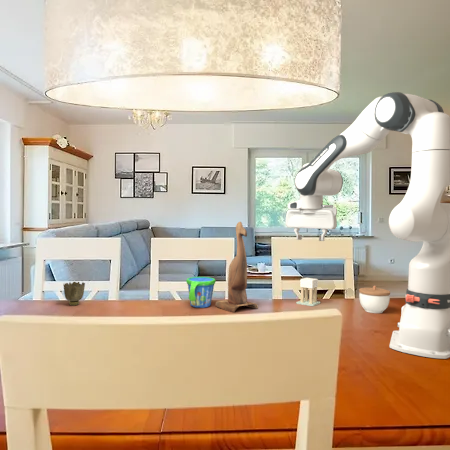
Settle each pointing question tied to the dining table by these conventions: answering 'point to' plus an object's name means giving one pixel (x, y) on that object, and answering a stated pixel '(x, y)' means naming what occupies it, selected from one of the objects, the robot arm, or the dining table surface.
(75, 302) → the cup
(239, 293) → the bird sculpture
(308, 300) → the mat
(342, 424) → the dining table surface
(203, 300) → the snack cup
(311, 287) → the stool
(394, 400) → the dining table surface
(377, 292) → the lidded jar
